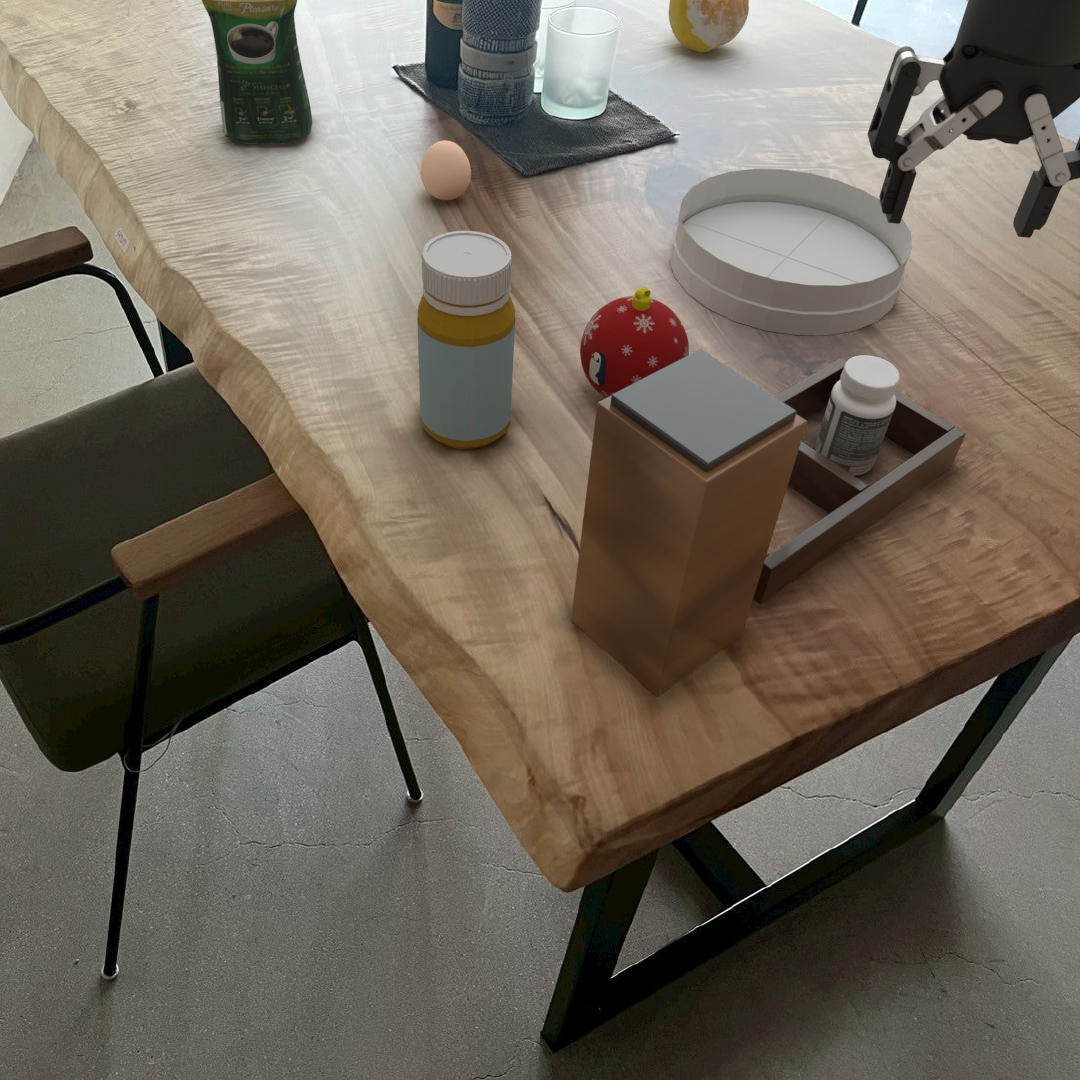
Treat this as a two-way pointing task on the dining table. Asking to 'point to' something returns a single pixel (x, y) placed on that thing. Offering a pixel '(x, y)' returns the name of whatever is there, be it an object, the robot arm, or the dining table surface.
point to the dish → (789, 251)
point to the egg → (445, 170)
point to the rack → (853, 479)
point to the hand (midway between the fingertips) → (956, 224)
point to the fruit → (707, 22)
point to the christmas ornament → (630, 342)
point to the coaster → (703, 409)
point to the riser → (673, 545)
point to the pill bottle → (858, 413)
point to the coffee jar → (259, 71)
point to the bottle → (466, 339)
